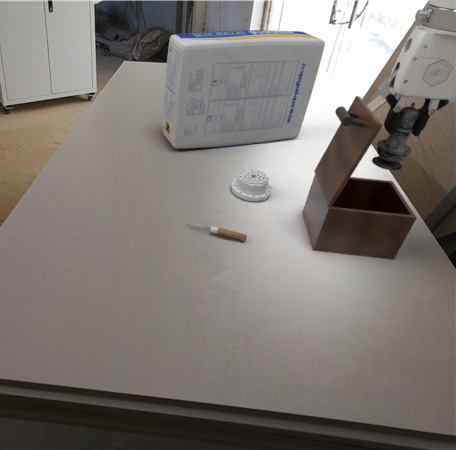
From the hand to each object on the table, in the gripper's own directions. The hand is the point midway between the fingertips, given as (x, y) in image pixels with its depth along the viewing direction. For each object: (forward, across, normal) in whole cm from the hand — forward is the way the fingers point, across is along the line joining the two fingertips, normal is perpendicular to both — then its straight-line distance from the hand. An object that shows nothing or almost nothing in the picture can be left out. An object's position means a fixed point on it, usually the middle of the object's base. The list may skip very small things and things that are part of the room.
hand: (401, 131), depth 73 cm
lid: (+6, -8, +2) cm, 10 cm away
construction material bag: (+26, -25, +46) cm, 58 cm away
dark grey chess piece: (+7, 0, 0) cm, 7 cm away
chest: (+25, -1, +2) cm, 26 cm away
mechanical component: (+26, -21, +16) cm, 37 cm away
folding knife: (+26, -30, -4) cm, 40 cm away
